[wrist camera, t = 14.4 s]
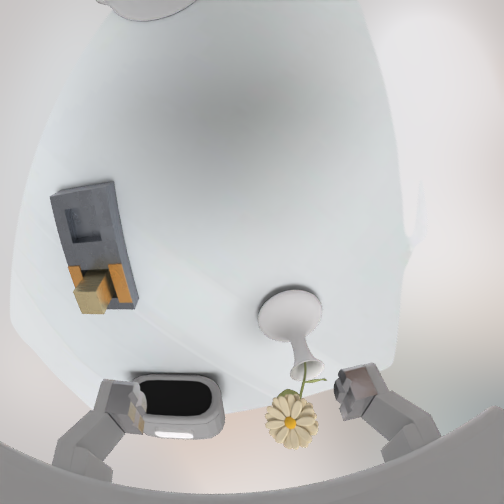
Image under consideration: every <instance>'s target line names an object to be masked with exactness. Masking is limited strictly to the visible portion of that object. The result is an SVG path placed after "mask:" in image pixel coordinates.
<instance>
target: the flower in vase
mask: <svg viewBox="0 0 504 504" xmlns="http://www.w3.org/2000/svg"><path fill="white" fill-rule="evenodd" d="M321 317H322V305H321V302H320V301H319V299H318V298H317V297H316V296H315V295H313V294H312V293H309V292H307V291H302V290H288V291H284V292H281V293H278V294H276V295H274V296H273V297H271V298H270V299H269V300H268V301H267V302H266V303H265V304H264V305H263V306H262V308H261V310H260V311H259V314H258V325H259V328H260V329H261V331H262V332H263V333H264V334H265V335H266V336H267V337H268V338H270V339H272V340H275V341H280V342H291V344H292V347H293V351H294V357H295V362H294V366H293V368H292V370H291V372H290V376H291V378H292V379H294V380H296V381H303V382H302V387H301V391H300V394H298V393H297V392H295V391H293V390H290V389H286V390H284V391H283V392H281V393H280V394H279V395H278V397H277V398H273V402H272V405H273V407H271V406H268V407H267V411H268V413H266V415H265V418H266V419H267V421H268V422H267V423H266V424H265V425H266V428H268V429H270V431H269V433H270V435H271V436H272V437H273V438H274V439H275V441H276V442H277V443H284V447H286V448H288V449H291V448H293V449H295V450H297V449H298V448H299V445H300V446H301V447H304V448H306V447H308V443H311V442H312V437H311V435H316V434H317V432H318V422H317V421H315V419H316V418H317V415H316V414H315V413H314V410H313V405H312V404H311V403H307V401H306V400H305V399H304V398H301V397H302V392H303V388H304V384H305V383H313V382H317V381H320V380H324V381H327V380H326V379H314V380H311V379H313V378H315V377H317V376H319V375H320V374H321V373H322V372H323V370H324V367H325V366H324V363H323V362H322V361H320V360H318V359H316V358H315V357H314V356H313V355H312V354H311V352H310V350H309V348H308V346H307V343H306V340H305V337H306V336H308V335H309V334H310V333H312V332H313V331H314V329H315V328H316V327H317V326H318V324H319V322H320V320H321ZM307 380H309V381H307Z"/></svg>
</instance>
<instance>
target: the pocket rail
mask: <svg viewBox="0 0 504 504" xmlns="http://www.w3.org/2000/svg"><path fill="white" fill-rule="evenodd" d="M50 200H51V205H52V209H53V214H54V218H55V222H56V226H57V230H58V233H59V237H60V241H61V244H62V247H63V251H64V254H65V257H66V260H67V263H68V269H69V272H70V274H71V277H72V280H73V283H74V286H75V288H76V287H77V285H78V284H79V283H80V281H81V280H82V278H83V277H84V275H85V274H86V273H87V271H88V270H94V269H109V271H110V274H111V278H112V281H113V284H114V287H115V293H114V295H113V297H112V299H111V301H110V303H109V305H108V307H107V309H135V307H136V305H137V302H138V299H139V297H138V293H137V290H136V286H135V282H134V279H133V275H132V271H131V267H130V263H129V259H128V254H127V250H126V246H125V241H124V237H123V232H122V227H121V222H120V217H119V211H118V205H117V200H116V193H115V187H114V182H107V183H101V184H95V185H89V186H83V187H78V188H72V189H67V190H62V191H59V192H57V193H55V194H54V195H52V196H50Z"/></svg>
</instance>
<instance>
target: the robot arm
mask: <svg viewBox="0 0 504 504" xmlns="http://www.w3.org/2000/svg"><path fill="white" fill-rule="evenodd" d="M96 1H97V2H98V3H100V4H104V5H109V6H110V7H111V8H112V9H113V10H114V11H115V12H116V13H117V14H118V15H120V16H121V17H123V18H126V19H129V20H134V21H149V20H156V19H160V18H164V17H167V16H170V15H172V14H175V13H177V12H179V11H181V10H183V9H184V8H186V7H188V6H189V5H190V4H192V3H193V2H194V1H195V0H96ZM338 376H339V378H338V379H337V380H336V381H335V384H334V394H335V397H336V400H337V401H338V402H339V403H341V406H340V408H339V409H340V412H341V415H342V418H343V421H346V420H350V419H355V418H359V417H362V419H364V420H365V421H366V422H367V423H368V424H369V425H371V426H372V427H373V428H374V429H375V430H376V431H378V432H379V433H380V434H381V435H382V436H384V437H385V438H386V439H387V440H388V441H389V442H388V443H387V444H386V445H385V446H384V447H383V448H382V450H381V452H382V456H383V458H384V461H385V463H383V464H380V465H377V466H374V467H372V468H369V469H366V470H363V471H359V472H356V473H353V474H350V475H346V476H343V477H339V478H335V479H331V480H327V481H323V482H318V483H314V484H309V485H304V486H298V487H293V488H286V489H279V490H271V491H263V492H252V493H236V494H191V493H175V492H174V493H173V492H164V491H155V490H148V489H141V488H135V487H129V486H124V485H119V484H114V483H112V474H113V470H112V469H111V468H110V467H109V466H108V465H106V464H105V463H104V462H103V461H104V459H105V458H106V457H107V456H108V454H109V453H110V452H111V451H112V449H113V448H114V447H115V446H116V444H117V443H118V442H119V441H120V440H121V438H122V437H123V435H125V433H130V434H141V435H143V431H144V424H145V421H144V420H143V418H142V416H143V415H144V414H145V413H146V409H147V402H146V397H145V395H144V393H143V392H142V391H140V385H139V384H138V382H127V381H116V380H108V379H104V380H103V381H102V382H101V385H100V389H99V392H98V396H97V399H96V403H95V406H94V410H93V411H92V410H90V411H89V412H88V413H87V414H86V415H85V416H84V417H83V418H82V419H80V420H79V421H78V422H77V423H76V424H75V425H74V426H73V427H72V428H71V429H69V430H68V431H67V432H66V433H65V434H64V435H63V436H62V437H61V438H60V439H59V440H58V442H57V446H56V450H55V454H54V458H53V462H52V465H50V464H48V463H45V462H43V461H40V460H38V459H36V458H33V457H31V456H29V455H26V454H24V453H22V452H20V451H18V450H16V449H14V448H11V447H10V446H8V445H6V444H4V443H2V442H0V504H504V409H502V408H500V407H497V406H491V407H489V408H487V409H486V410H484V411H483V412H482V413H480V414H479V415H477V416H476V417H474V418H473V419H471V420H469V421H468V422H466V423H465V424H463V425H462V426H460V427H458V428H456V429H455V430H453V431H451V432H450V433H448V434H446V435H444V436H442V437H441V435H440V432H439V430H438V428H437V427H436V424H435V422H434V421H433V418H432V417H431V415H430V414H429V413H427V412H426V411H424V410H422V409H421V408H419V407H418V406H416V405H414V404H412V403H411V402H409V401H408V400H406V399H404V398H403V397H401V396H400V395H398V394H397V393H395V392H393V391H389V390H388V388H387V386H386V384H385V382H384V380H383V378H382V376H381V374H380V372H379V370H378V368H377V366H376V364H374V363H368V364H364V365H359V366H354V367H350V368H345V369H341V370H340V371H339V373H338Z"/></svg>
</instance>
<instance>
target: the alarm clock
mask: <svg viewBox="0 0 504 504" xmlns="http://www.w3.org/2000/svg"><path fill="white" fill-rule="evenodd" d="M131 382H138V384H139V385H140V391H142V392H143V393H144V395H145V397H146V402H147V409H146V413H145V414H144V415H143V416H142V418H143V420H144V421H145V424H144V431H143V433H145V434H146V435H148V436H153V437H159V438H172V439H207V438H212V437H214V436H216V435H218V434H219V433H220V432H221V430H222V429H223V426H224V423H225V414H224V408H223V402H222V396H221V391H220V389H219V386H218V385H217V384H216V383H215V382H214V381H213V380H211V379H209V378H207V377H202V376H200V375H171V374H149V375H144V376H140V377H137V378H135V379H134V380H133V381H131Z"/></svg>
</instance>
